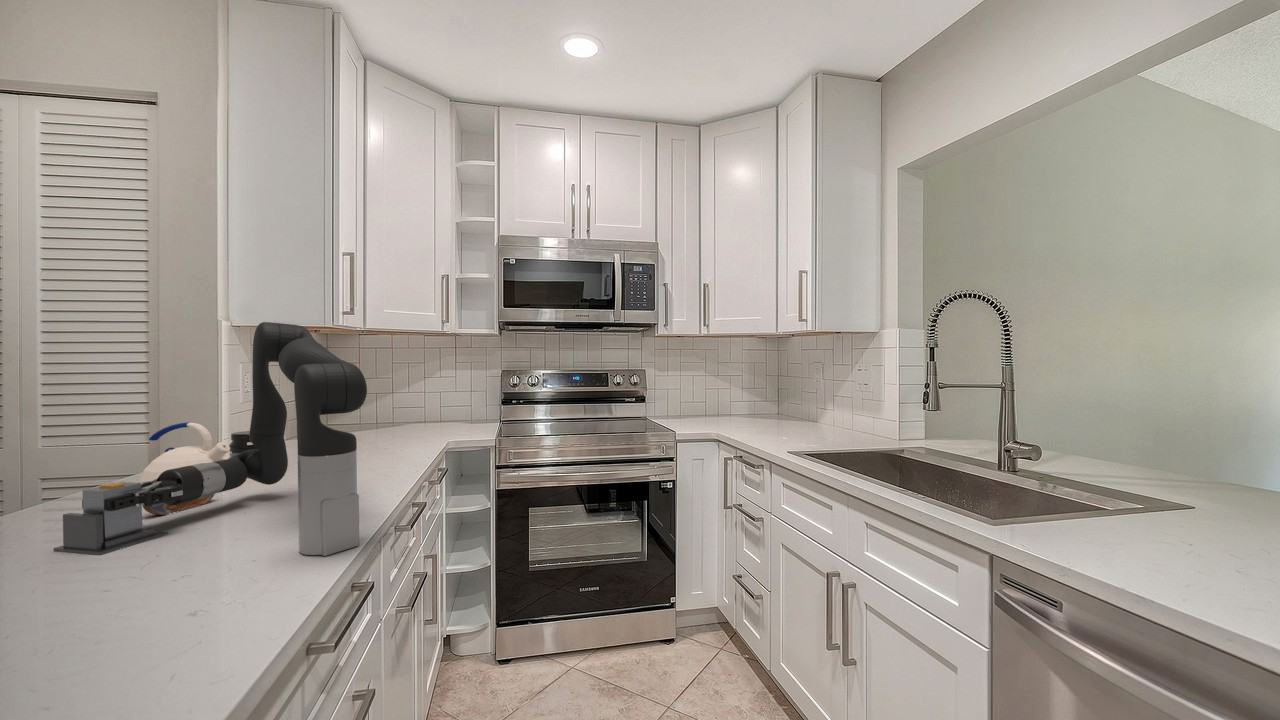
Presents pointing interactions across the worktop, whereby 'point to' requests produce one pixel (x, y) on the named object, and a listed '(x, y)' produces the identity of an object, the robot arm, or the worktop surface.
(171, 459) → the kettle
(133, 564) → the worktop surface
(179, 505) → the tin
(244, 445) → the supplement container
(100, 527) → the bracket
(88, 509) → the metal block with pad
